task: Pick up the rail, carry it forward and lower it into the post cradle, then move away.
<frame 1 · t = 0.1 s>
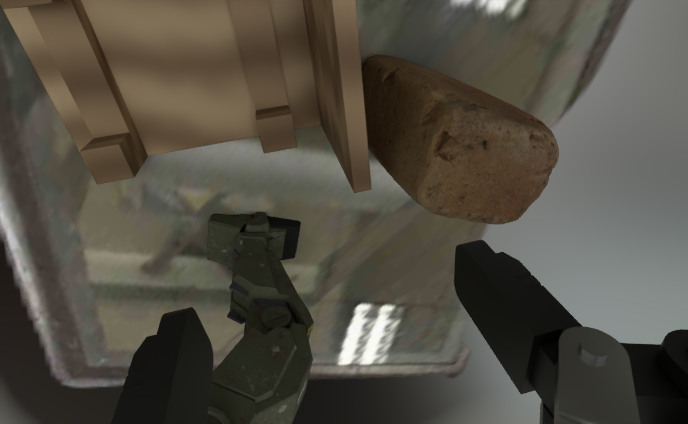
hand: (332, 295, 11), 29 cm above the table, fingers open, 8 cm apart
post cradle: (179, 56, 33), on the table
mechanical leg: (248, 234, 44), on the table
brown rounded piece: (398, 96, 39), on the table
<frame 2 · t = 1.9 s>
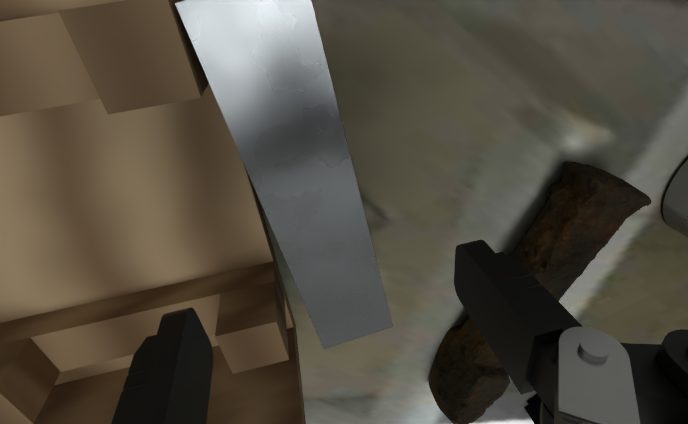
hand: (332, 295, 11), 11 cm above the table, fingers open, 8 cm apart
post cradle: (98, 201, 20), on the table
dark brown bar: (497, 285, 30), on the table
cpu cooler: (571, 389, 41), on the table
rail: (302, 158, 21), on the table
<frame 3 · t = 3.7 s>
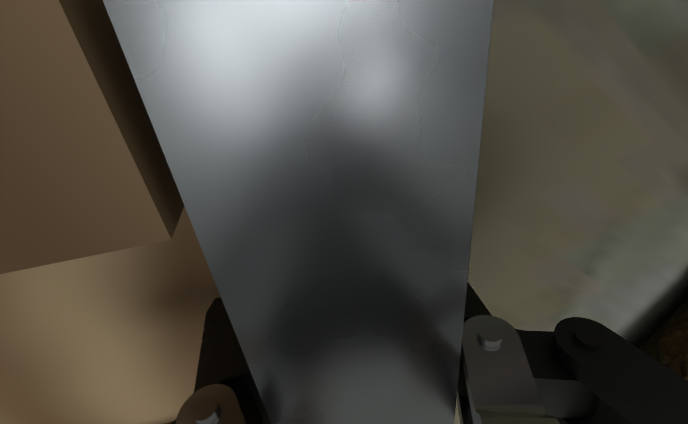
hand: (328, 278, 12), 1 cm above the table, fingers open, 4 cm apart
post cradle: (27, 317, 12), on the table
dark brown bar: (596, 384, 22), on the table
rail: (329, 251, 13), on the table, touching gripper
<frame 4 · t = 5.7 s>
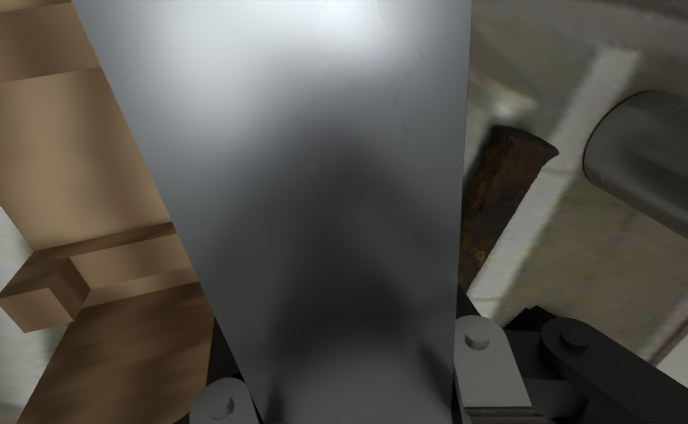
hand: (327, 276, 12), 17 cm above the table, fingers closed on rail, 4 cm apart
post cradle: (122, 149, 25), on the table
dark brown bar: (454, 235, 36), on the table
cpu cooler: (522, 335, 47), on the table
rail: (322, 252, 13), point 16 cm above the table, touching gripper
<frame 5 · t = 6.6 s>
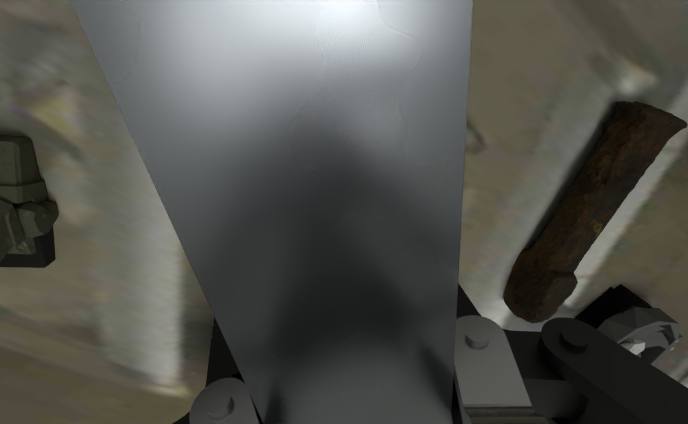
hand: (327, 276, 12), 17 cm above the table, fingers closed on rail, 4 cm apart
dark brown bar: (560, 211, 37), on the table
cpu cooler: (602, 315, 48), on the table
rail: (322, 252, 13), point 16 cm above the table, touching gripper
when the fingers open (5 cm above the table, at t = 9.5 s): rail stays where it is, resting on post cradle.
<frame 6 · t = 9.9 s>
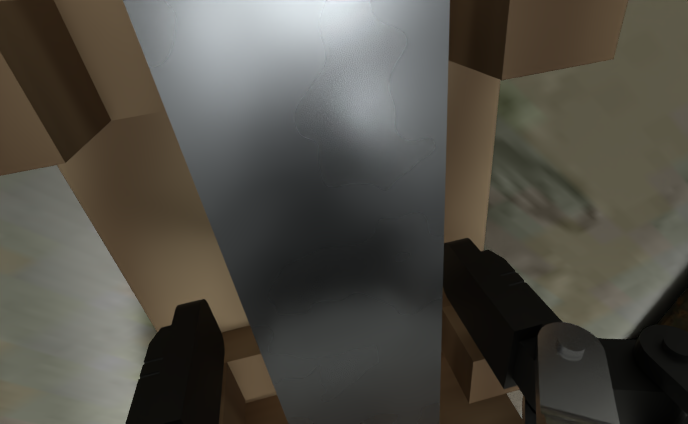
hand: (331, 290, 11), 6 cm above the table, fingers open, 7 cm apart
post cradle: (308, 199, 16), on the table
dark brown bar: (676, 294, 27), on the table
rail: (323, 236, 14), point 3 cm above the table, touching post cradle
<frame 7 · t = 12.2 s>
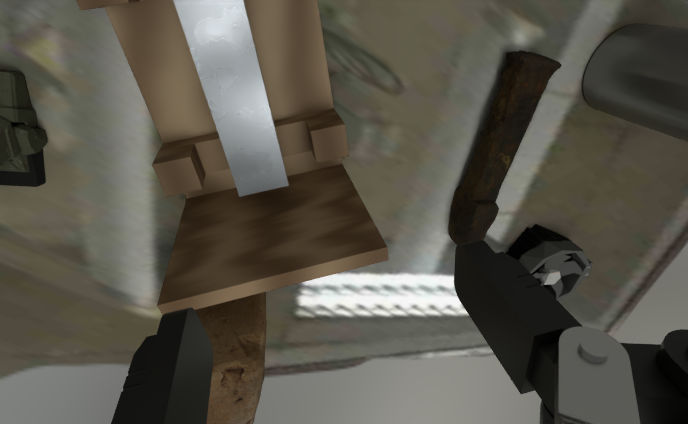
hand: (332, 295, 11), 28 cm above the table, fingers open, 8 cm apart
post cradle: (233, 61, 33), on the table
dark brown bar: (483, 152, 44), on the table
cpu cooler: (528, 253, 55), on the table
rail: (235, 67, 30), point 3 cm above the table, touching post cradle
brown rounded piece: (224, 253, 43), on the table
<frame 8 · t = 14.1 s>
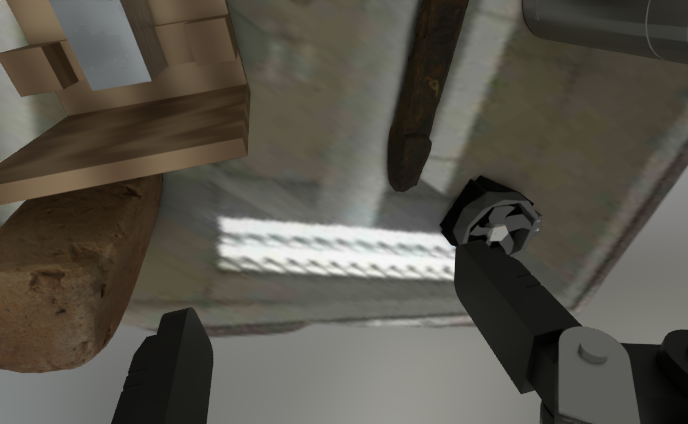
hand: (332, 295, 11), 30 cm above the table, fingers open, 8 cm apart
dark brown bar: (417, 84, 40), on the table
cpu cooler: (478, 211, 51), on the table
brown rounded piece: (126, 189, 39), on the table
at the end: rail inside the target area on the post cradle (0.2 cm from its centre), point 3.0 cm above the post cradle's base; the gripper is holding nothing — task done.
